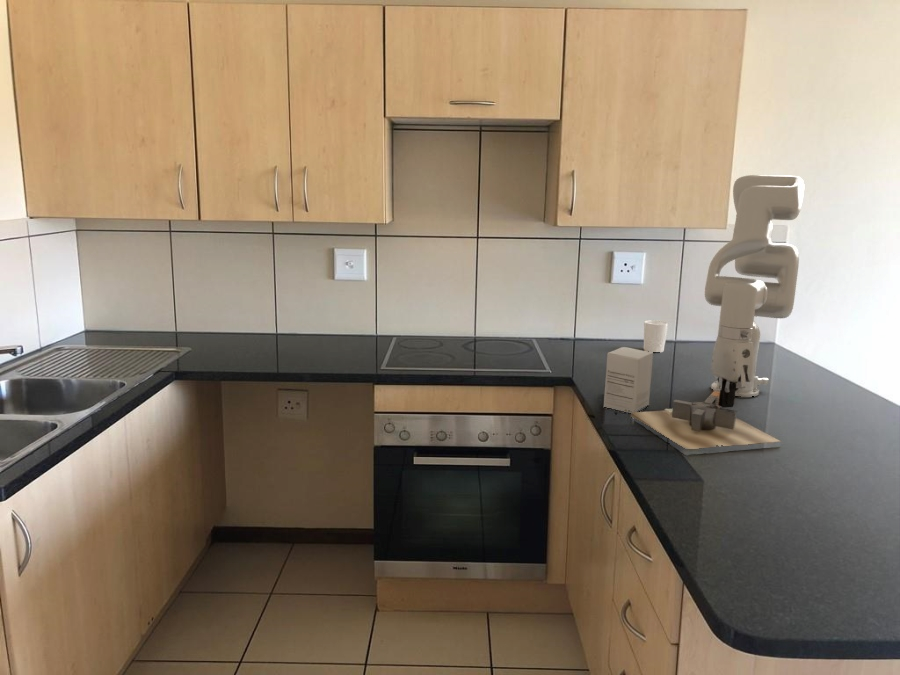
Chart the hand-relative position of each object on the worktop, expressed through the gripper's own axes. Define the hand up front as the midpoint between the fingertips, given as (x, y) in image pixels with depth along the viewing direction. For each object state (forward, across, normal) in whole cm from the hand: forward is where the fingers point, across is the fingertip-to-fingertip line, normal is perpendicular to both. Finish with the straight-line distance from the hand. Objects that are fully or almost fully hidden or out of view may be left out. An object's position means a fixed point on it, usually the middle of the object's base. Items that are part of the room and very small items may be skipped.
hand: (725, 406), depth 169 cm
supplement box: (+5, +16, +18) cm, 24 cm away
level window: (+3, +5, +9) cm, 11 cm away
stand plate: (+4, -4, +9) cm, 11 cm away
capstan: (+3, -2, +7) cm, 8 cm away
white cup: (+3, +69, -22) cm, 73 cm away
